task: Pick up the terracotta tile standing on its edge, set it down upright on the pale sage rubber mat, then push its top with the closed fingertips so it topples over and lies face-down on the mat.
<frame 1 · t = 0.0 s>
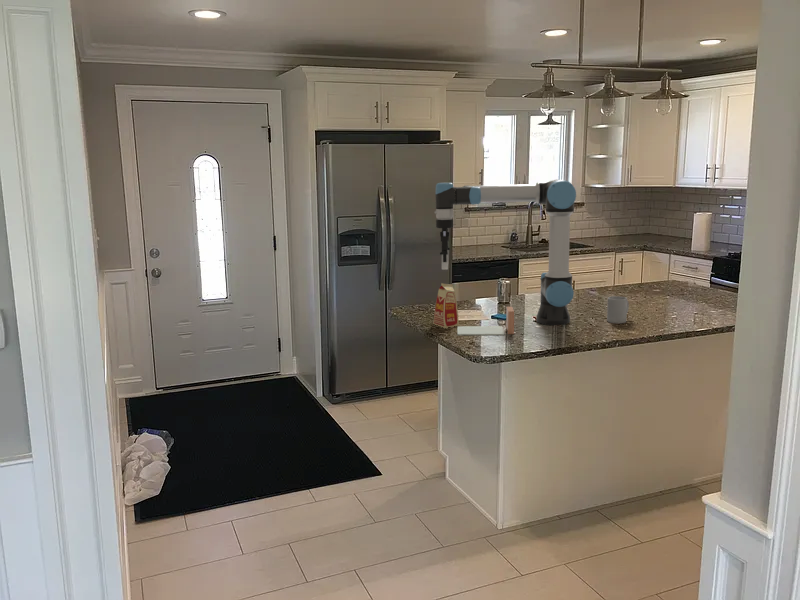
hand: (445, 267, 299), 28 cm above the worktop, fingers open, 13 cm apart
milk carton: (446, 325, 312), on the worktop
tile: (510, 331, 298), on the worktop
mug: (618, 321, 312), on the worktop
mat: (480, 331, 299), on the worktop
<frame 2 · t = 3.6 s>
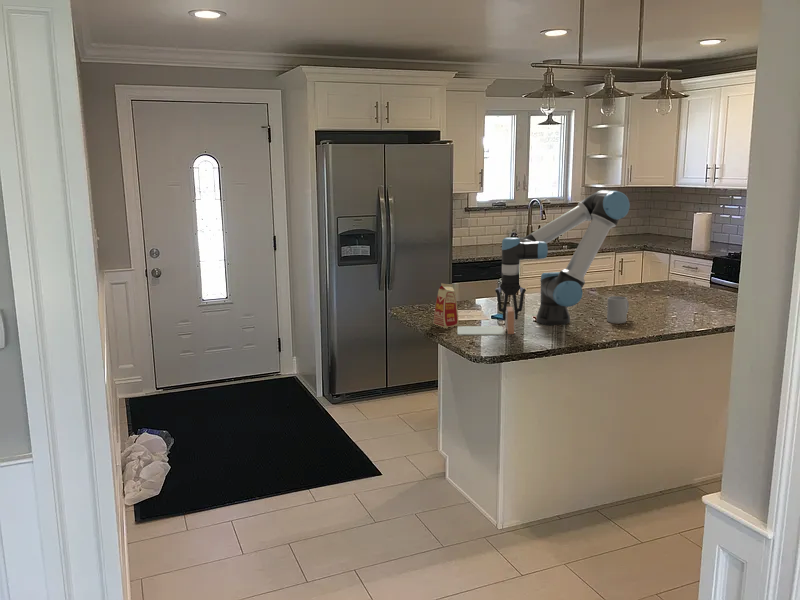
hand: (510, 326, 297), 2 cm above the worktop, fingers closed on tile, 3 cm apart
tile: (510, 331, 298), on the worktop, touching gripper
everything else where it was.
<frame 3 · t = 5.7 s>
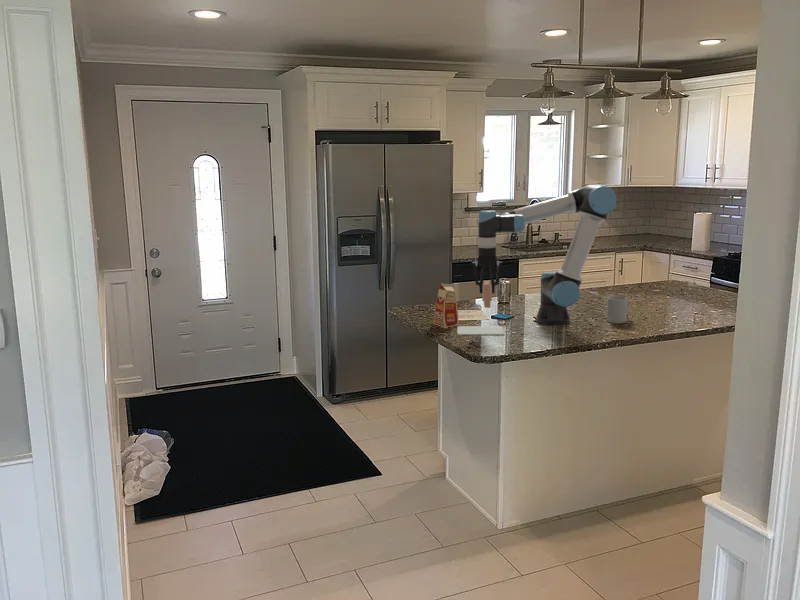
hand: (487, 300, 296), 14 cm above the worktop, fingers closed on tile, 3 cm apart
tile: (486, 305, 296), point 12 cm above the worktop, touching gripper
everything else where it was.
when the fingers open (3 cm above the worktop, at t = 7.6 s): tile stays where it is, resting on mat.
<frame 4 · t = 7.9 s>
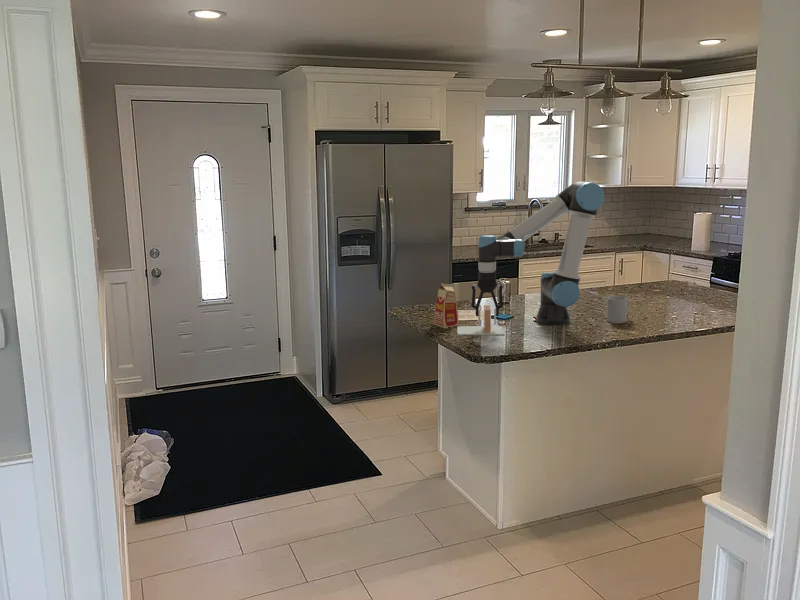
hand: (487, 323, 298), 4 cm above the worktop, fingers open, 6 cm apart
tile: (487, 329, 298), point 1 cm above the worktop, touching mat
everything else where it was.
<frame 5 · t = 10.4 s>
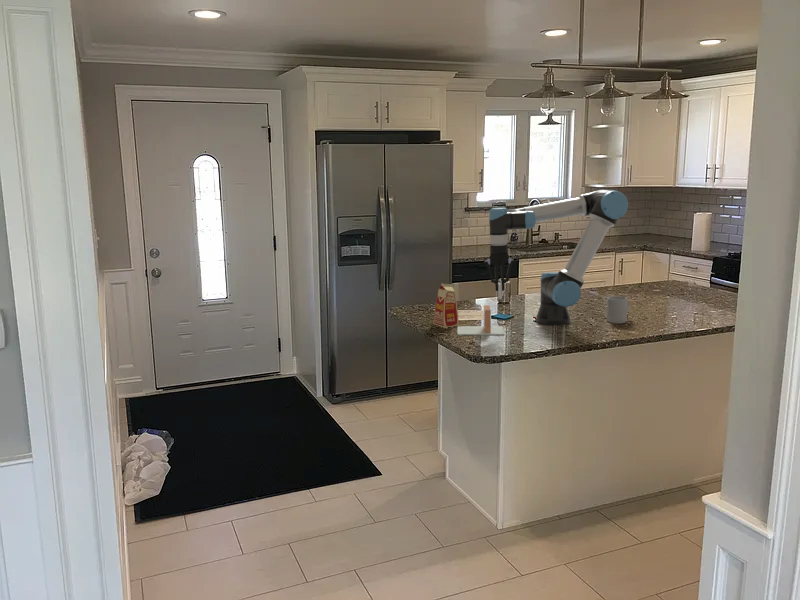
hand: (500, 298, 295), 15 cm above the worktop, fingers closed
nothing on the worktop moved.
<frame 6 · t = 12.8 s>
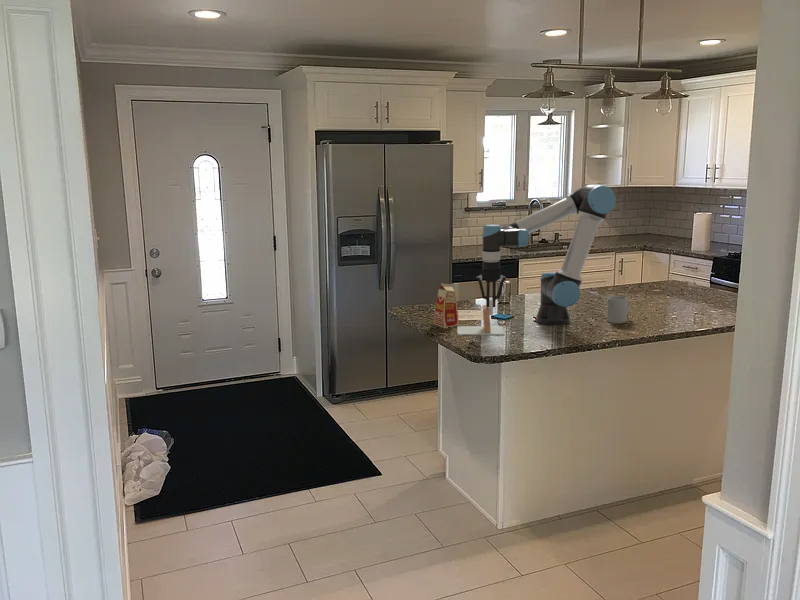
hand: (490, 314, 297), 8 cm above the worktop, fingers closed
tile: (487, 329, 298), point 1 cm above the worktop, touching gripper, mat
everything else where it was.
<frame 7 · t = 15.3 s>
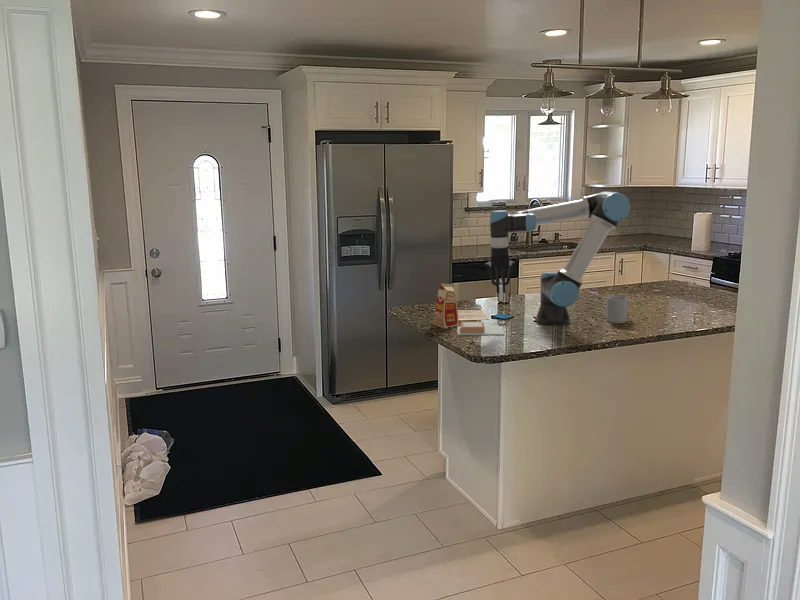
hand: (501, 300, 297), 13 cm above the worktop, fingers closed
tile: (484, 327, 298), point 2 cm above the worktop, tilted 90°, touching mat
everything else where it was.
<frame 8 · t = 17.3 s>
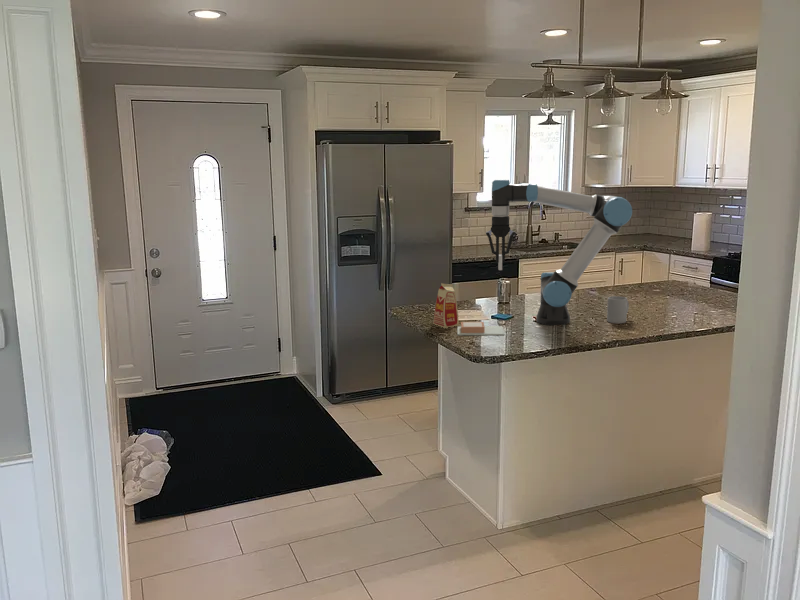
hand: (500, 269, 299), 26 cm above the worktop, fingers closed
nothing on the worktop moved.
at the end: tile tilted 90°; tile inside the target area on the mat (1.7 cm from its centre), point 1.8 cm above the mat's base; the gripper is holding nothing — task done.
